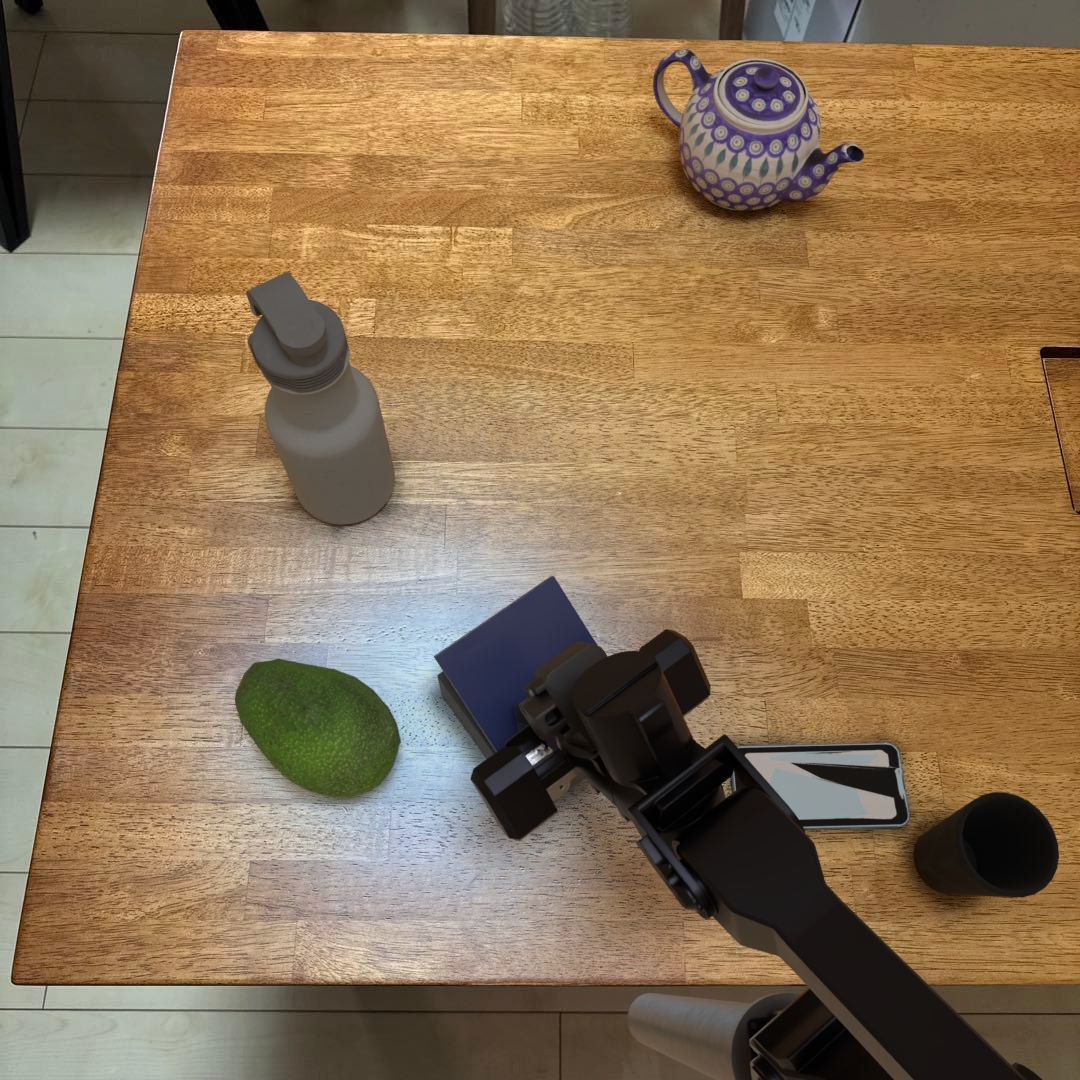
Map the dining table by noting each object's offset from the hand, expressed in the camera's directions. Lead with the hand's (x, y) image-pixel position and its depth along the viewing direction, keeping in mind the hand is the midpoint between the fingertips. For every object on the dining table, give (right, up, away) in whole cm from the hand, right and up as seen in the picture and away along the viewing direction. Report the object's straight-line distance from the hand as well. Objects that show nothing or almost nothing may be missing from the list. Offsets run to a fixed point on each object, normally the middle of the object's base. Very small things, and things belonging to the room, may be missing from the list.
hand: (544, 689), depth 81 cm
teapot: (+22, +54, +36) cm, 68 cm away
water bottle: (-20, +18, +19) cm, 32 cm away
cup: (+35, -16, +6) cm, 39 cm away
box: (-1, -4, +10) cm, 11 cm away
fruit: (-19, -5, +9) cm, 22 cm away
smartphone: (+24, -10, +8) cm, 27 cm away
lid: (0, 0, +1) cm, 1 cm away
